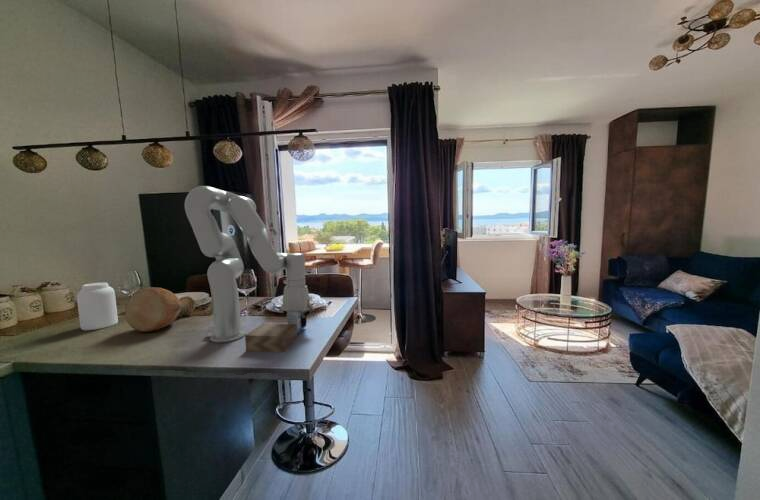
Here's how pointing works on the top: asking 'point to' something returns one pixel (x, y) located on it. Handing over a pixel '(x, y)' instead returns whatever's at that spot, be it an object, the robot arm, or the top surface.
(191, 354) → the top surface
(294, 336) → the walnut block
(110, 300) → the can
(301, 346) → the top surface
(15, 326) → the top surface
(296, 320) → the medicine box
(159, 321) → the jug
